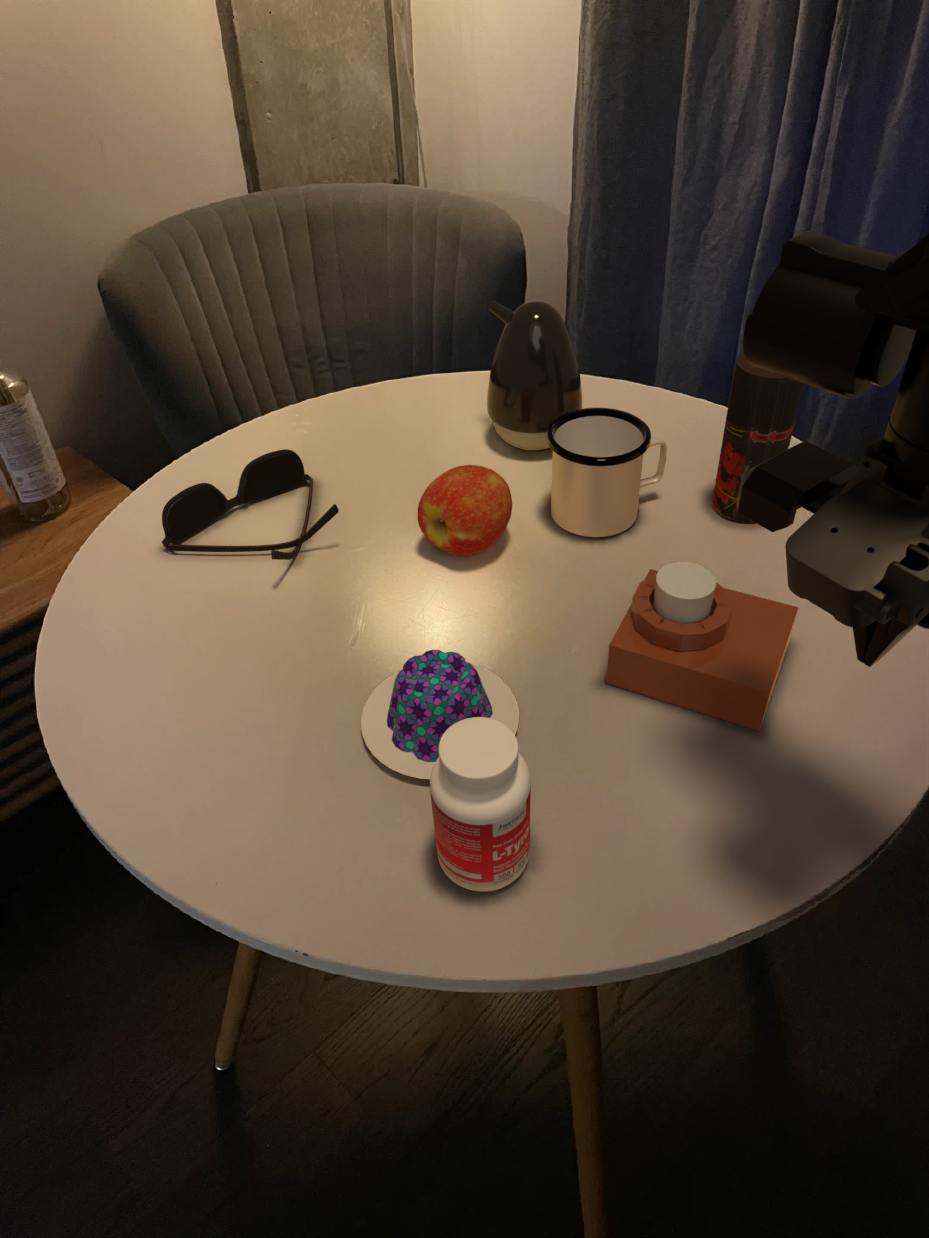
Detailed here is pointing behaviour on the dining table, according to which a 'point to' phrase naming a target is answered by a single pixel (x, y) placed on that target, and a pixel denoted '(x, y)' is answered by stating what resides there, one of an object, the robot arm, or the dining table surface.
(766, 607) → the button housing
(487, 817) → the pill bottle
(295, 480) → the sunglasses
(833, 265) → the robot arm
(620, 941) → the dining table surface
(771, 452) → the deodorant
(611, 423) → the mug
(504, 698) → the pudding
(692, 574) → the white cylinder
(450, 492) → the apple
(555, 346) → the pump dispenser
